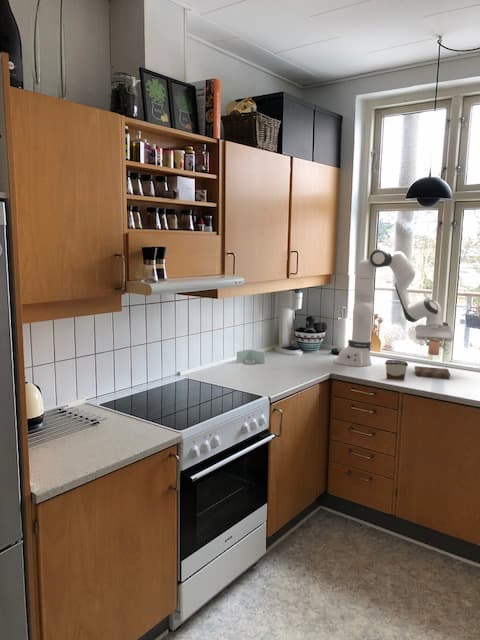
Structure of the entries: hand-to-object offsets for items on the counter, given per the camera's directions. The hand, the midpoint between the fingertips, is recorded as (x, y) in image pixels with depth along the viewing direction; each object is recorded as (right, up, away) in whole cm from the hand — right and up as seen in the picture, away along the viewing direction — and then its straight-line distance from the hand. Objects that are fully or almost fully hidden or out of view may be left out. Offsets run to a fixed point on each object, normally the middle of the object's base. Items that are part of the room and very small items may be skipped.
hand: (434, 345), depth 291 cm
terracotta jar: (0, -5, +1) cm, 5 cm away
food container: (-25, -18, -8) cm, 32 cm away
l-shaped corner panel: (-104, -12, +16) cm, 106 cm away
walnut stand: (-1, -17, +2) cm, 17 cm away
